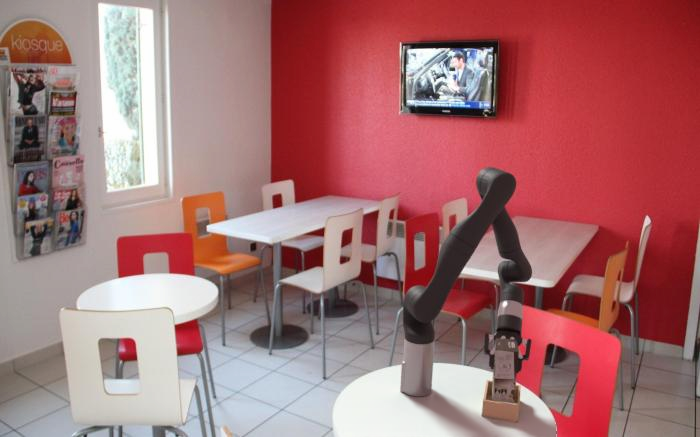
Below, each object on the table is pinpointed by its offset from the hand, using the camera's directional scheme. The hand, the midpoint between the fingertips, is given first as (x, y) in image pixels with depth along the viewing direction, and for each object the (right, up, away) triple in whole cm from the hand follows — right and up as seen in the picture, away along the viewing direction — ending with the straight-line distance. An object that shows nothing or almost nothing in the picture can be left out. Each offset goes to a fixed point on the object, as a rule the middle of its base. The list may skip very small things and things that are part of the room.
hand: (504, 370), depth 186 cm
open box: (-1, -12, +3) cm, 12 cm away
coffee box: (0, -8, +2) cm, 8 cm away
